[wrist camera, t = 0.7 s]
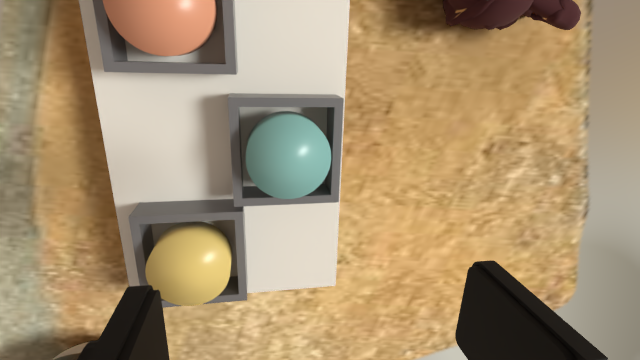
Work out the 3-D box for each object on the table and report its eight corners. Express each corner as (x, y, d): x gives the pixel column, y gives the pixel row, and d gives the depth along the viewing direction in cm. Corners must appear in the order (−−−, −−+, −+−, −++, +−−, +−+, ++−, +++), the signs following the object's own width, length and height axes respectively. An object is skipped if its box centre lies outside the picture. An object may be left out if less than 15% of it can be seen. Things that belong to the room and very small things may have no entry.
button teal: (244, 110, 24) (243, 116, 22) (325, 111, 25) (332, 116, 23) (247, 188, 26) (247, 200, 24) (323, 185, 27) (329, 197, 25)
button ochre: (149, 222, 25) (139, 239, 23) (229, 219, 26) (227, 234, 24) (159, 288, 27) (150, 309, 25) (234, 282, 28) (232, 302, 26)
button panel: (88, -57, 23) (41, -89, 18) (341, -38, 26) (362, -61, 21) (142, 280, 32) (121, 324, 27) (328, 267, 35) (341, 303, 30)
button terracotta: (110, -52, 20) (92, -65, 18) (214, -44, 21) (209, -56, 19) (125, 54, 22) (111, 54, 19) (220, 57, 23) (216, 57, 20)
